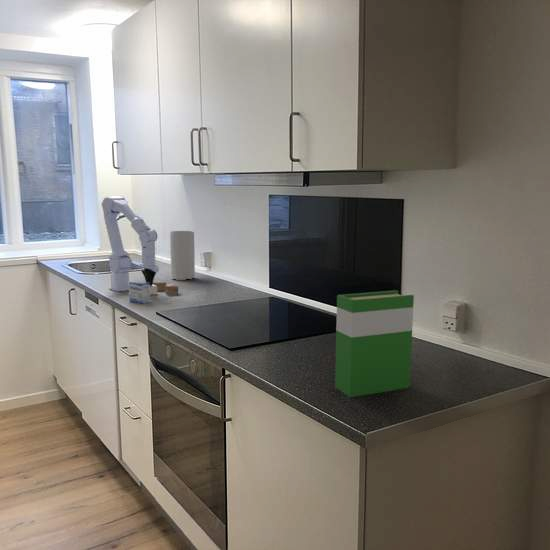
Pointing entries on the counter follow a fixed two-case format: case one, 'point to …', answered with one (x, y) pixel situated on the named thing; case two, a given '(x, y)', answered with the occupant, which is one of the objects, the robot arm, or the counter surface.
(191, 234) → the cylinder vase
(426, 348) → the counter surface
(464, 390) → the counter surface
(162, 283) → the dotted block
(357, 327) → the hardback book
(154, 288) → the plain block
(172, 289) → the dotted block
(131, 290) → the medicine box
